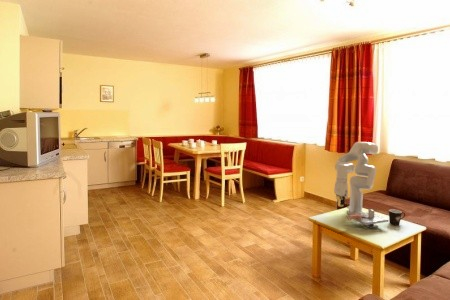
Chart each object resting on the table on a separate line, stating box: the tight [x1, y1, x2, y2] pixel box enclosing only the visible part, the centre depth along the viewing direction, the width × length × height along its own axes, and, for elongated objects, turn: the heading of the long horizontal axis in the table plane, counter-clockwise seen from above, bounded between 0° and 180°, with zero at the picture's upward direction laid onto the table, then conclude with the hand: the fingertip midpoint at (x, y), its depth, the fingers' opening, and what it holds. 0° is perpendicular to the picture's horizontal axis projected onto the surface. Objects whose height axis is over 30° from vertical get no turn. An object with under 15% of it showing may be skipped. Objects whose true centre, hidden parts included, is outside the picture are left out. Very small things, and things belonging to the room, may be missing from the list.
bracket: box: [348, 213, 361, 221], centre depth 216 cm, size 6×8×3 cm
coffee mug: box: [388, 208, 406, 227], centre depth 224 cm, size 12×9×10 cm
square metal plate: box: [346, 208, 389, 229], centre depth 220 cm, size 18×21×12 cm
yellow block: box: [335, 195, 344, 208], centre depth 227 cm, size 3×7×8 cm, turn 109°
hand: (340, 203), depth 227 cm, fingers closed on yellow block, 2 cm apart
